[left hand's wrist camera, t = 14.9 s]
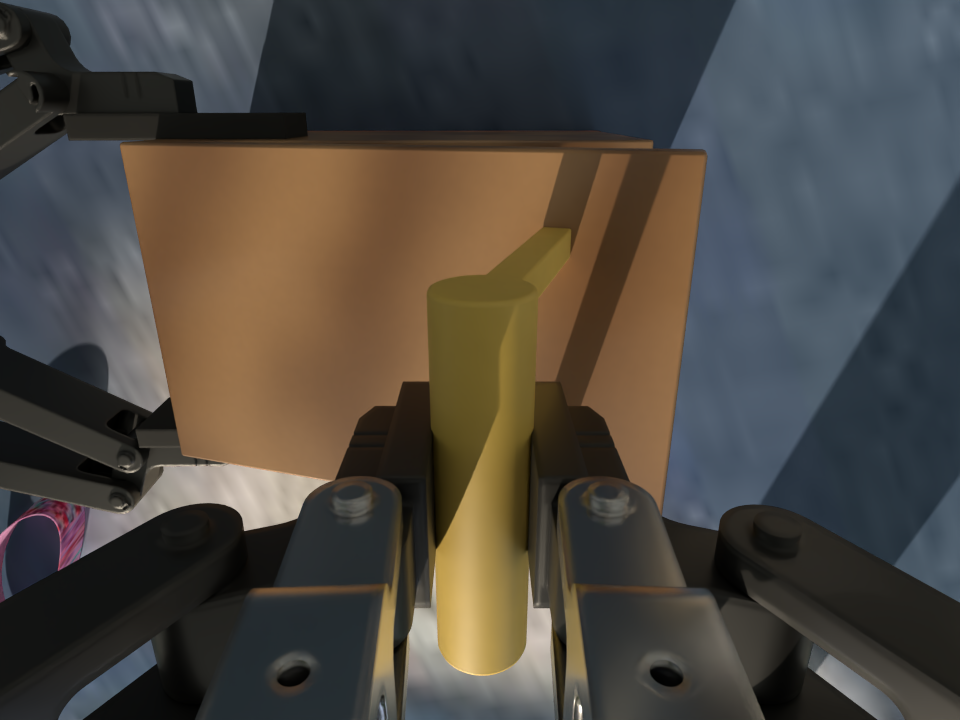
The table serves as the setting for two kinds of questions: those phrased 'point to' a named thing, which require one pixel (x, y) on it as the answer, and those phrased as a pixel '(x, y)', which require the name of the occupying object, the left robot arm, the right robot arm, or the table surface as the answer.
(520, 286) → the lid
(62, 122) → the right robot arm
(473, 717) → the table surface
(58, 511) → the pink curved piece
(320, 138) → the chest
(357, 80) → the table surface
